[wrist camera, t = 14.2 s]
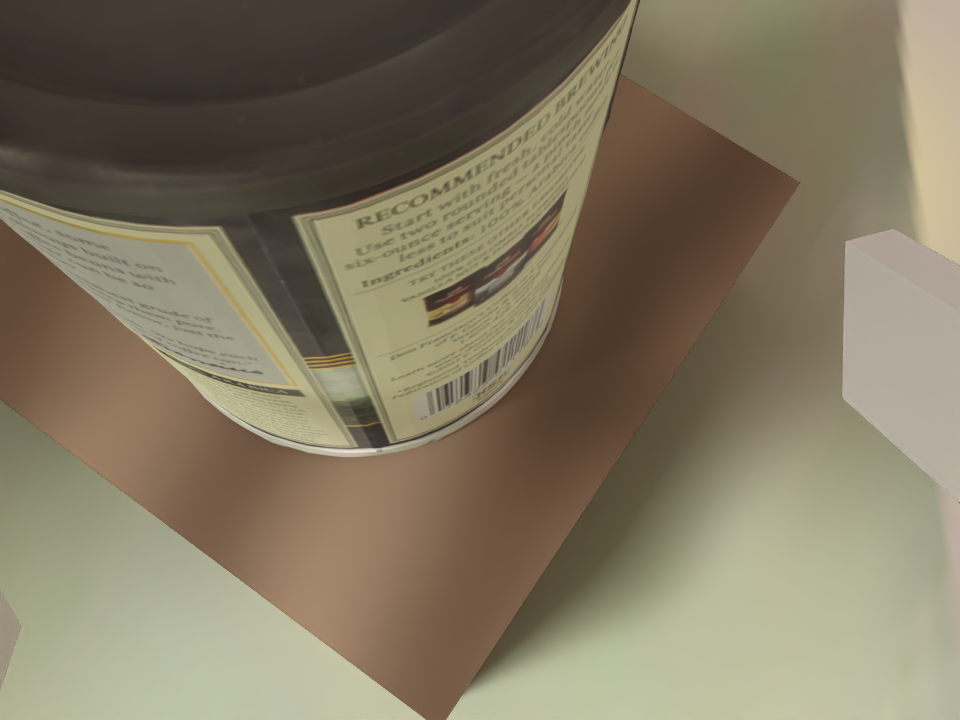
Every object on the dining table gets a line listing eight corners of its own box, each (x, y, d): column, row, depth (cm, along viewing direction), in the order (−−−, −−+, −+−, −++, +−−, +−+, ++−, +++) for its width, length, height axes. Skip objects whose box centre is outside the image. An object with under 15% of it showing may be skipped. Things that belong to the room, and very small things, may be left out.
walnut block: (16, 385, 28) (-100, 324, 22) (336, 19, 32) (307, -115, 26) (444, 704, 26) (439, 729, 20) (733, 268, 29) (800, 182, 24)
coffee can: (269, 20, 25) (32, -719, 11) (624, 165, 24) (845, -450, 10) (67, 355, 22) (-573, -77, 8) (458, 534, 21) (453, 376, 7)
